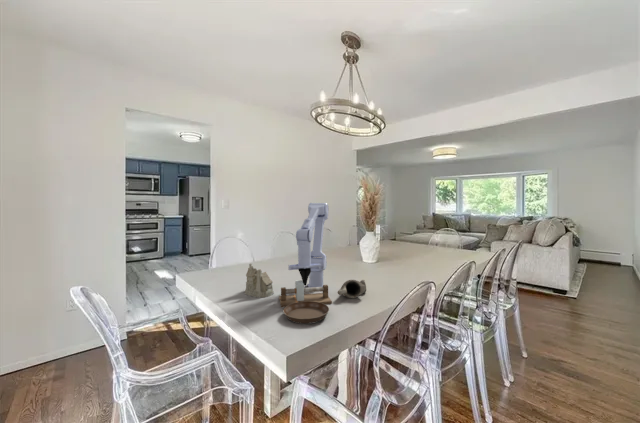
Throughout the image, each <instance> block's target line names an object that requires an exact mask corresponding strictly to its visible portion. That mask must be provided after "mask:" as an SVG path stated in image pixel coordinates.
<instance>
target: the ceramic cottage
mask: <svg viewBox="0 0 640 423" xmlns="http://www.w3.org/2000/svg"><path fill="white" fill-rule="evenodd" d="M245 276H246V282H245V290H244V294H245V295H246V296H248V295H249V297H254V298H259V299H261V298H263V299H264V298H268V297H271V296H273V295H274V294H275V292H274V288H273V281H272V280H271V278H270V276H269V274H268V273H267V271H264V272H262V269H260V268H258V269H257V268H254V265H253V264H252V263H249V266H248V268H247V272H246V274H245Z"/></svg>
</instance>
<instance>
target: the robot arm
mask: <svg viewBox="0 0 640 423" xmlns="http://www.w3.org/2000/svg"><path fill="white" fill-rule="evenodd" d="M307 211H308V217H307V218H305V219H304V221H303V223H302V225H301V227H300V228H298V229H297V230H296V233H295V238H296V245H297V252H298V253H297V257H298V258H297V264H295V263H294V264H288V271H292V270H298V273H299V275H300V276H301V277H300V278H301V280H302V282H303V284H304V286H308V287H307V288H310V287H323V285H324V271H325V270H326V269H327V264H328V263H327V262H328V261H327V255H326V254H325V252H323V240H324V239H323V238H324V228H325V226H324V225H325V222H326V220H328V219H329V218H328V217H329V204H328V203H327V202H310V203H308V206H307ZM312 241H313V243H312ZM311 248H312V249H311ZM311 250H312V251H311ZM308 281H309V282H308Z"/></svg>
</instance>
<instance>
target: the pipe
mask: <svg viewBox="0 0 640 423" xmlns="http://www.w3.org/2000/svg"><path fill="white" fill-rule="evenodd" d="M366 292H367V284H366V281H365V279H361V280H360V281H358V280H356V279H348V280H346V281H345V282H343V283H342V285H341V287H340V288H339V289H338V290H337V295H339V296H344V297H346V298H349V299H355V298H357V297H360V296H361V295H362V294H364V293H366Z"/></svg>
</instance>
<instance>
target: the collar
mask: <svg viewBox="0 0 640 423" xmlns="http://www.w3.org/2000/svg"><path fill="white" fill-rule="evenodd" d="M294 281H295V282H294V288H297V293H294V295H295V296H296V299H297V301H304V294H305V293H304V288H305V285H304V284H303V281H302V279H301V280H294Z"/></svg>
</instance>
